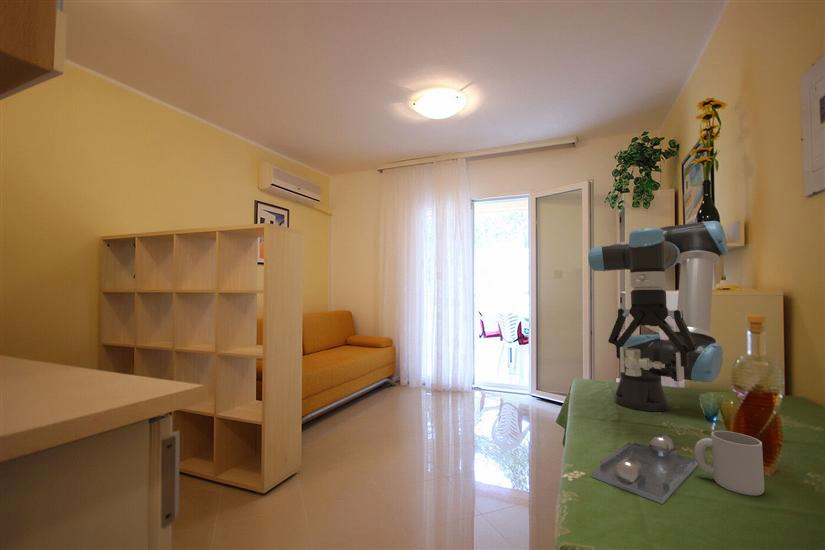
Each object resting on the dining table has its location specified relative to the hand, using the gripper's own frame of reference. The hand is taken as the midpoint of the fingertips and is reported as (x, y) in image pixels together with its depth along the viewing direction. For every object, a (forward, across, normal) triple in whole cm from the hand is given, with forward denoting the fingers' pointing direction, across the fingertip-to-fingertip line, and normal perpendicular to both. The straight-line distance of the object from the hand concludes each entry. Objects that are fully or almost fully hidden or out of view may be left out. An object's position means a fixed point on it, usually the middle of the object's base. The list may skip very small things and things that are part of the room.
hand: (651, 375), depth 90 cm
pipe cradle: (+16, +4, -19) cm, 25 cm away
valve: (+1, 0, 0) cm, 1 cm away
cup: (+16, +16, -13) cm, 26 cm away
